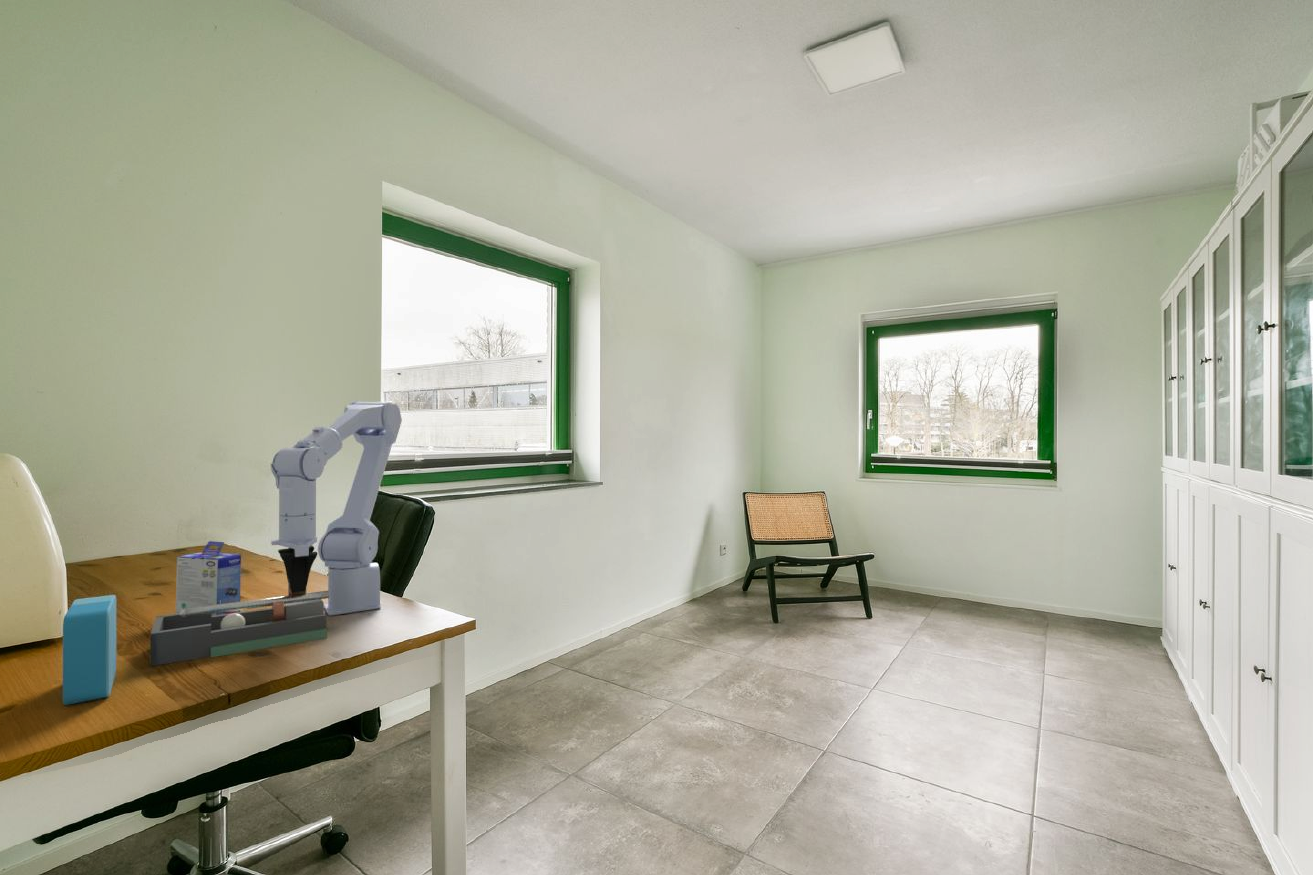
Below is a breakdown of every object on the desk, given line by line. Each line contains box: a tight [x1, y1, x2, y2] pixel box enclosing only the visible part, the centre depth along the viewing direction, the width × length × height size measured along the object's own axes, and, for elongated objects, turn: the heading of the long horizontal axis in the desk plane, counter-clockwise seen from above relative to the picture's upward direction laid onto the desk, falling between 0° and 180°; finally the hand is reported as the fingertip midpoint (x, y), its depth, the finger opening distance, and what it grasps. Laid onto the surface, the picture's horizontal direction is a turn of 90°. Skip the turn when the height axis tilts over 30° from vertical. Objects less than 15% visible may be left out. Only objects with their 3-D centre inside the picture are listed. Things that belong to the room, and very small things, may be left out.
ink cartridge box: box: [174, 540, 242, 616], centre depth 117 cm, size 10×6×14 cm, turn 79°
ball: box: [220, 613, 245, 629], centre depth 104 cm, size 4×4×4 cm
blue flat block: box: [62, 594, 117, 706], centre depth 85 cm, size 12×4×12 cm, turn 38°
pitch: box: [150, 599, 328, 667], centre depth 105 cm, size 24×12×5 cm, turn 126°
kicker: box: [180, 579, 329, 622], centre depth 106 cm, size 22×5×9 cm, turn 126°
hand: (297, 589), depth 109 cm, fingers closed on kicker, 3 cm apart
